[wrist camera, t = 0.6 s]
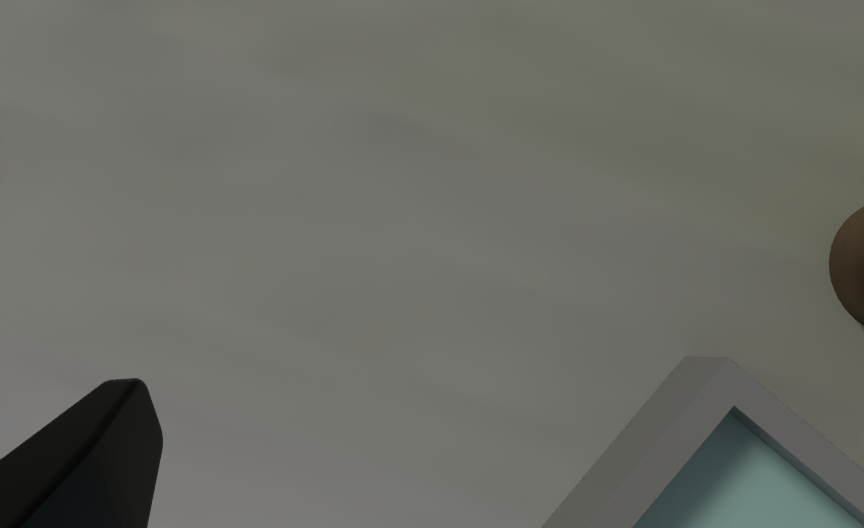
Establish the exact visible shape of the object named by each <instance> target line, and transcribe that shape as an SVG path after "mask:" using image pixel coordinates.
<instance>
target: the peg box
mask: <svg viewBox="0 0 864 528" xmlns="http://www.w3.org/2000/svg"><path fill="white" fill-rule="evenodd" d="M542 528H864V469H862V468H861V467H860V466H859V465H858V464H856V463H855V462H854V461H853V460H852V459H850V458H849V457H848V456H847V455H846V454H844V453H843V452H842V451H841V450H840V449H838V448H837V447H836V446H835V445H833V444H832V443H831V442H830V441H829V440H827V439H826V438H825V437H824V436H823V435H821V434H820V433H819V432H818V431H817V430H815V429H814V428H813V427H812V426H811V425H809V424H808V423H807V422H806V421H805V420H803V419H802V418H801V417H800V416H799V415H797V414H796V413H795V412H794V411H793V410H791V409H790V408H789V407H788V406H786V405H785V404H784V403H783V402H782V401H780V400H779V399H778V398H777V397H776V396H774V395H773V394H772V393H771V392H770V391H768V390H767V389H766V388H765V387H764V386H762V385H761V384H760V383H759V382H758V381H756V380H755V379H754V378H753V377H752V376H750V375H749V374H748V373H747V372H746V371H744V370H743V369H742V368H741V367H739V366H738V365H737V364H736V363H735V362H733V361H732V360H731V359H730V358H724V357H685V358H684V359H683V360H682V361H681V363H680V364H679V365H678V366H677V367H676V368H675V370H674V371H673V372H672V373H671V374H670V376H669V377H668V378H667V379H666V380H665V382H664V383H663V384H662V385H661V386H660V387H659V389H658V390H657V391H656V392H655V393H654V395H653V396H652V397H651V398H650V399H649V401H648V402H647V403H646V404H645V405H644V406H643V408H642V409H641V410H640V411H639V412H638V414H637V415H636V416H635V417H634V418H633V420H632V421H631V422H630V423H629V424H628V426H627V427H626V428H625V429H624V430H623V431H622V433H621V434H620V435H619V436H618V437H617V439H616V440H615V441H614V442H613V443H612V445H611V446H610V447H609V448H608V449H607V450H606V452H605V453H604V454H603V455H602V456H601V458H600V459H599V460H598V461H597V462H596V464H595V465H594V466H593V467H592V468H591V469H590V471H589V472H588V473H587V474H586V475H585V477H584V478H583V479H582V480H581V481H580V483H579V484H578V485H577V486H576V487H575V489H574V490H573V491H572V492H571V493H570V494H569V496H568V497H567V498H566V499H565V500H564V502H563V503H562V504H561V505H560V506H559V508H558V509H557V510H556V511H555V512H554V513H553V515H552V516H551V517H550V518H549V519H548V521H547V522H546V523H545V524H544V525H543V527H542Z"/></svg>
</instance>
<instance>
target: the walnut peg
mask: <svg viewBox="0 0 864 528" xmlns="http://www.w3.org/2000/svg"><path fill="white" fill-rule="evenodd" d="M829 269H830V277H831V282H832V285H833V287H834V290H835V292H836V294H837V296H838V298H839V300H840V302H841V303H842V305H843V306H844V307H845V308H846V310H847V311H848V312H849V313H850V314H851V315H852V316H853V317H854V318H855V319H856V320H858V321H859V322H861V323H862V324H864V207H863V208H861V209H859V210H858V211H856V212H855V213H854V214H853V215H851V216H850V217H849V218H848V219H847V220H846V221H845V222H844V223H843V225H842V226H841V228H840V229H839V231H838V232H837V234H836V236H835V238H834V241H833V244H832V247H831V251H830V259H829Z"/></svg>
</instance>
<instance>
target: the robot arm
mask: <svg viewBox="0 0 864 528" xmlns="http://www.w3.org/2000/svg"><path fill="white" fill-rule="evenodd" d="M162 448H163V435H162V430H161V426H160V423H159V420H158V417H157V415H156V412H155V409H154V406H153V403H152V400H151V397H150V394H149V391H148V388H147V386H146V384H145V383H144V382H143V381H142V380H140V379H138V378H131V379H116V380H108V381H105V382H104V383H102V384H101V385H99V386H98V387H97V388H95V389H94V390H93V391H91V392H90V393H89V394H87V395H86V396H85V397H83V398H82V399H81V400H79V401H78V402H77V403H75V404H74V405H73V406H71V407H70V408H69V409H67V410H66V411H65V412H63V413H62V414H61V415H59V416H58V417H57V418H55V419H54V420H53V421H51V422H50V423H49V424H47V425H46V426H45V427H43V428H42V429H41V430H39V431H38V432H37V433H35V434H34V435H33V436H31V437H30V438H29V439H27V440H26V441H25V442H23V443H22V444H21V445H19V446H18V447H17V448H15V449H14V450H13V451H11V452H10V453H9V454H7V455H6V456H5V457H3V458H2V459H1V460H0V528H147V525H148V520H149V515H150V510H151V505H152V500H153V495H154V490H155V485H156V480H157V474H158V469H159V464H160V459H161V454H162Z"/></svg>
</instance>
